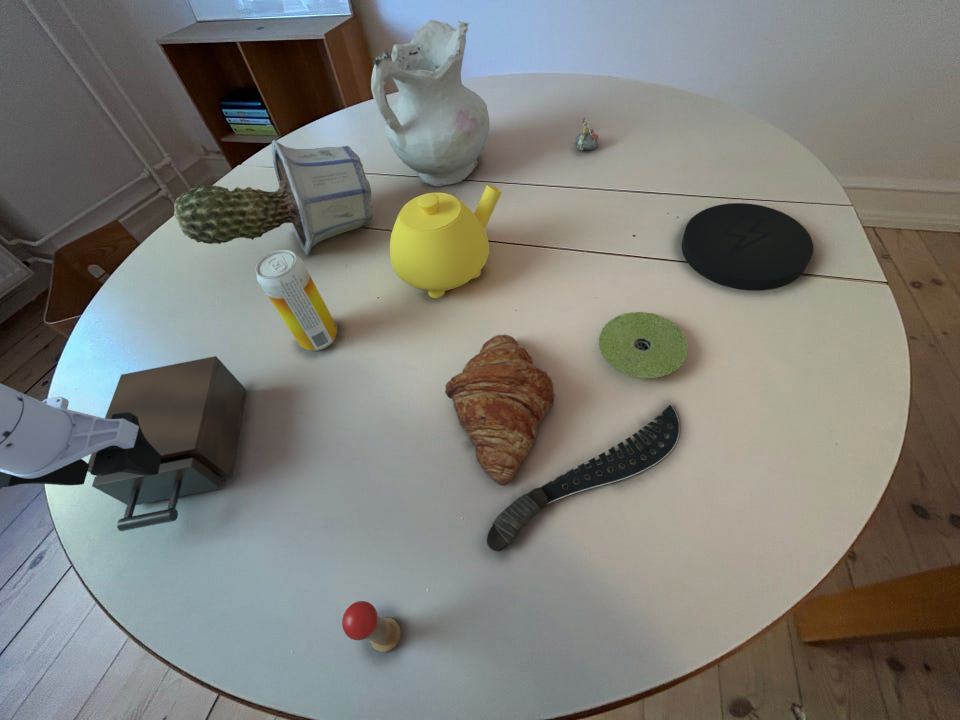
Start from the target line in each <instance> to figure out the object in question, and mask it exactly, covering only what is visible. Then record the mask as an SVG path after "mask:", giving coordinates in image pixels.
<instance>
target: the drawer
mask: <svg viewBox="0 0 960 720" xmlns="http://www.w3.org/2000/svg"><path fill="white" fill-rule="evenodd" d="M212 471H214V469H212V468H211V467H210V466H209V465H207V464H206V463H205V462H203V461H202V460H201V459H199V458H198V457H197V456H196V455H194V454H193V453H189V454H184V455H179V456H174V457H168V458H163V459H161V462H160V466H159V471H158V474H157V475H150V476H143V475H137V474H132V473H127V472H117V473H112V474H107V475H102V476H94V479H93V481H92V485H91V487H92V488H94V489H96V490H98V491H100V492H101V493H104V494H106V495H107V496H109V497H112V498H114V499H115V500H117V501H119V502H121V503H122V504H124V505H126V508H125V511H124V514H123V517H122V518H119V519H118V521H117V522H116V523H117V524H116V528H117V530H118V531H119V532H125V531H130V530H135V529H141V528H145V527H151V526H156V525H161V524H165V523H171V522H175V521H177V519H178V518H179V512H178V510H177V504H178V500H179V497H184V496H188V495H189V496H190V495H195V494H199V493H205V492H211V491H215V490H220V489H222V485H223V479H221V478H220V477H218V476H217V475H216V474H214V473H213V472H212ZM165 500H169V501H168V505H167V509H162V510H157V511H151V512H146V513H141V514H136V515H134V512H135V509H136V506H139V505H143V504H144V505H145V504H149V503H153V502H159V501H165Z"/></svg>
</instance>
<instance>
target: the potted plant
mask: <svg viewBox="0 0 960 720" xmlns="http://www.w3.org/2000/svg"><path fill="white" fill-rule="evenodd" d="M271 157H272V163H273V168H274V172H275V175H276V179H277V182H278V186H279V187H278V188H277V190H275V191H266V190H262V189H259V188H257V189H255V188H252V187H251V186H249V187H248V186H247V187H246V188H240V187H239V186H235V187H234V188H233V189H232V190H229V188H227V187H223V186H220V185H219V186H218V185H212V184H208V185H206V186H205V184H203V185H199V186H197V187H193V188H190V189H189V191H188V192H185V193H181V196H178V197H177V198H176V199H175V202H174V206H173V208H174V212H173V216H174V219H175V220H176V222H177V223H178V226H179V228H180V230H181V232H182V233H183V234H184V236H187V237H188V238H189V239H190V240H194V241H195V242H196V243H203V244H207V245H213V244H217V245H221V244H222V243H224V244H225V243H229V242H231V241H233V240H235V239H240V238H241V239H249V240H252V241H253V240H255V238H256V239H257V238H262V237H263V235H264V234H267V233H269V232H271V231H272V230H275V229H277V228H280V227H281V226H282V225H283V224H291V228H292V230H293V233H294V234H295V237H296V240H297V242H298V243H299V244H300V245H299V246H300V248H301V249H302V250H303V252H304V254H305V255H309V254H310V252H311V251H312V248H313V247H314V246H315V245H317V244H318V243H320V242H321V241H324V240H327V239H329V238H332V237H335V236H338V235H341V234H343V233H346V232H349V231H353V230H356V229H361V228H363V227H366V226H367V225H368V224H370V222H371V221H372V220H373V214H374V207H373V201H372V190H371V189H372V188H371V185H370V181H369V180H368V179H367V176H366V172H365V169H364V166H363V164H362V161H361V158H360V156H359V154H357V153H356V152H355V151H354V150H353V148H351V146H349V145H344V146H328V147H326V146H325V147H315V148H293V147H287V146H285V145H283V144H281V143H280V142H278V141H277V140H275V139H274V140H272V141H271Z"/></svg>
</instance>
